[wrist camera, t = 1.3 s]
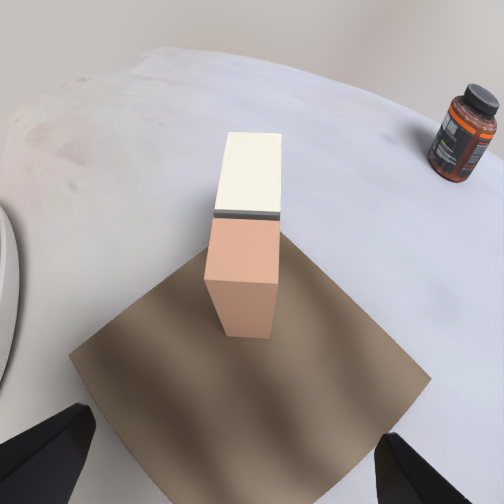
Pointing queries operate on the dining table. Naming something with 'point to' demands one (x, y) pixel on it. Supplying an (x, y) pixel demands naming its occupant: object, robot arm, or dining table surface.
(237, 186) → the white rectangular block
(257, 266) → the salmon pink tall block
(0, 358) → the bowl
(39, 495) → the robot arm
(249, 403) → the brown square mat
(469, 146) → the supplement bottle
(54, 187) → the dining table surface
